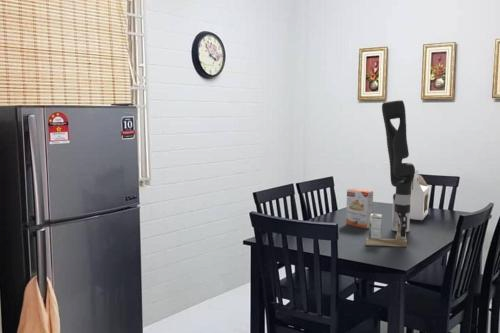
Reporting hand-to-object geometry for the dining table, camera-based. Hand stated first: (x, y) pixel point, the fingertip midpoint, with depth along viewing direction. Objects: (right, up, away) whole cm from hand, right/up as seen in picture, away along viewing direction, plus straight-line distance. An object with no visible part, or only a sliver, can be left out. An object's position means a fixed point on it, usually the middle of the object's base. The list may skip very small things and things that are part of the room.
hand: (401, 234), depth 253 cm
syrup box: (-13, -4, -1) cm, 14 cm away
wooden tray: (-8, -4, +1) cm, 9 cm away
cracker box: (-14, 0, +35) cm, 38 cm away
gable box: (+27, +3, +63) cm, 69 cm away
